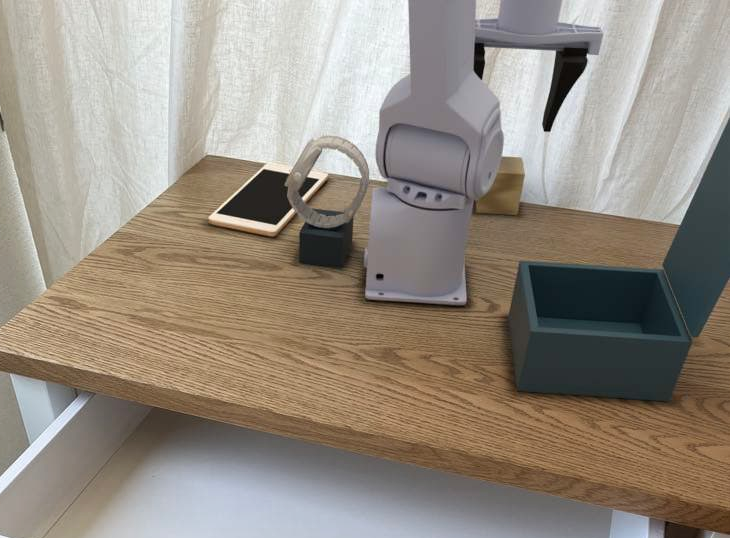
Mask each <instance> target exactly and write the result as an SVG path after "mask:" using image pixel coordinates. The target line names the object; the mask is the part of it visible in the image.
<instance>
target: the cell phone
mask: <svg viewBox="0 0 730 538" xmlns="http://www.w3.org/2000/svg"><path fill="white" fill-rule="evenodd" d="M293 167H294V166H290V165H286V164H279V163H274V162H267V163H266V164H264V165H263V166H262V167H261V168H260V169H259V170H258V171H257V172H255V174H253V175H251V177H250V178H249V179H248V180H247V181H246V182H245V183H244V184H243V185H241V187H239V188H238V189H237V190H236V191H235V192H234V193H232V195H231V196H229V197H228V198H227V199H226V200H225V201H224V202H223V203H222V204H221V205H220V206H219V207H218V208H217V209H215V210H214V211H213V212H212V213H211V214H210V215H209V216H208V217H207V219H208V224H210V225H213V226H218V227H221V228H228V229H232V230H238V231H243V232H247V233H252V234H257V235H261V236H262V235H263V236H265V237H266V236H267V237H275V236H277V235H278V234H279V233H280V232H281V230H282V229H283V228H284V227H286V225H287V224H288V223H289V222H290V221H291V219H293V217H294V216H296V215H297V213H296V212H295V211H294V209H293V208H292V205H291V204H290V202H289V199H288V197H287V194H288V186H287V187H286V186H285V182H286V180H287V178H288V176H289V174H290V173H291V171H292V169H293ZM328 180H329V173H327V172H323V171H318V170H312V169H311V171H310V173H309V174H308V176H307V178H306V179H305V181H304V183H303V184H302V186H301V188H300V189H299V190H298V192H299V195H300V196H301V198H302V199H303V201H304V203H306V204H307V202H308V201H310V199H311V198H312V197H313V196H314V195H315V193H316V192H317V191H318V190H319V189H320V188H321V187H322V186H323V185H324V184H325V183H326V181H328Z"/></svg>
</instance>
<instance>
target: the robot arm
mask: <svg viewBox="0 0 730 538" xmlns="http://www.w3.org/2000/svg"><path fill="white" fill-rule="evenodd" d="M407 2H408V4H407V5H408V8H407V9H408V36H409V37H408V39H409V42H408V43H409V71H410V72H409V74H407V75H406V76H404V77H402V78H401V79H399V80H398V81H397V82H396V83H395V84H394V85H393V86H392V87H391V88H390V90H388V92H387V94H386V96H385V97H384V99H383V102H382V104H381V106H380V109H379V111H378V112H379V113H378V115H379V116H378V132H377V137H376V143H375V163H376V166H377V168H378V171H379V175H380V176H381V177H382V178H383V179H385V180H387V184H386V186H379V187H373V188H372V190H371V191H372V193H371V202H370V215H369V228H368V229H369V230H368V245H367V246H368V247H365V248H364V256H363V269H364V268H366V277H365V278H366V279H365V292H364V297H365V298H366V299H367V300H374V301H388V302H403V303H405V302H406V303H419V304H420V303H421V304H435V305H450V306H466V304H467V301H468V299H467V298H468V297H467V283H466V266H465V265H466V264H465V260H466V254H467V249H468V242H469V234H470V228H471V221H472V215H473V208H474V203H475V201H476V200H479V199H480V198H482V196H484V195H485V194H486V193H487V192H488V191H489V190H490V188H491V186H492V184H493V182H494V180H495V178H496V175H497V172H498V169H499V165H500V162H501V157H502V156H503V151H504V143H505V137H504V131H503V129H502V118H501V113H502V111H501V109H500V107H501V100H500V99H499V97H498V96H497V95H496V94H495V92H493V91H492V90H491V88H489V87H488V85H486V83H485V82H484V81H483V77H484V72H485V67H486V58H485V56H486V49H485V48H496V49H511V50H512V49H513V50H531V51H533V50H535V51H551V52H553V51H554V52H555V55H554V64H553V69H552V75H551V82H550V87H549V92H548V95H547V100H546V103H545V108H544V111H543V116H542V123H541V126H542V129H543V132H544V133H551V132H552V128H553V126H554V124H555V121H556V118H557V115H558V114H559V112H560V109H561V107H562V105H563V103H564V102H565V100H566V98H567V97H568V95H569V93H570V92H571V90H572V88H573V87H574V85H575V84H576V83H577V82H578V80H579V79H580V77H581V76H582V75H583V74H584V72H585V70H586V68H587V66H588V62H589V59H588V57H587V56H588V55H590V56H599V55H600V51H601V46H602V42H603V39H604V31H603V29H602V27H601V26H590V25H580V24H575V23H569V22H568V23H567V22H560V21H559V18H560V14H561V8H562V3H563V0H500V2H499V7H498V8H499V9H498V16H497V18H481V19H479V18H478V19H477V18H476V15H477V14H476V13H477V0H407Z"/></svg>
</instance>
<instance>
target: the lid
mask: <svg viewBox="0 0 730 538" xmlns="http://www.w3.org/2000/svg"><path fill="white" fill-rule="evenodd" d="M661 266H662V268H663V270H664V272H665V275H666V277H667V280H668V282H669V285H670V287H671V290H672V292H673V295H674V297H675V300H676V302H677V305H678V307H679V310H680V312H681V315H682V317H683V320H684V322H685V325H686V327H687V330H688V332H689V335H690V337H691V338H695V339H696V338H697V339H698V338H699V337H700V335H701V333H702V331H703V329H704V328H705V326H706V324H707V322H708V321H709V318H710V316H711V315H712V312H713V310H715V309H714V308H715V306H716V305H717V303H718V301H719V299H720V297H721V295H722V293H723V292H724V290H725V288H726V287H727V284H728V282H729V280H730V116H729V117H728V120H727V121H726V124H725V126H724V128H723V131H722V133H721V135H720V137H719V139H718V141H717V143H716V146H715V148H714V150H713V152H712V154H711V157H710V159H709V161H708V163H707V165H706V168H705V169H704V172H703V174H702V176H701V178H700V181H699V182H698V185H697V187H696V190H695V192H694V194H693V196H692V198H691V201H690V202H689V205H688V207H687V209H686V211H685V213H684V216H683V218H682V220H681V222H680V224H679V226H678V229H677V231H676V233H675V235H674V237H673V239H672V242H671V244H670V246H669V248H668V251H667V253H666V255H665V257H664V260H663V262H662V264H661Z"/></svg>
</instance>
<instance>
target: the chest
mask: <svg viewBox="0 0 730 538" xmlns="http://www.w3.org/2000/svg"><path fill="white" fill-rule="evenodd" d="M517 266H518V267H517V272H516V277H515V281H514V287H513V291H512V297H511V301H510V306H509V310H508V316H507V321H508V329H509V337H510V345H511V353H512V362H513V369H514V378H515V385H516V392H525V393H526V392H527V393H539V394H540V393H542V394H553V395H554V394H555V395H569V396H583V397H597V398H610V399H612V398H613V399H614V398H615V399H625V400H626V399H627V400H640V401H641V400H642V401H657V402H670V399H671V397H672V395H673V392H674V390H675V387H676V385H677V382H678V379H679V377H680V375H681V372H682V370H683V368H684V364H685V362H686V359H687V357H688V354H689V352H690V349H691V347H692V345H693V340H692V339H693V338H692V337H691V336H690V333H689V331H688V328H687V326H686V323H685V321H684V318H683V316H682V313H681V311H680V308H679V306H678V303H677V301H676V298H675V296H674V293H673V291H672V288H671V286H670V283H669V281H668V278H667V276H666V273H665V271H664V268H663V269H662V268H648V267H647V268H645V267H631V266H630V267H629V266H616V265H615V266H614V265H599V264H597V265H596V264H585V263H584V264H581V263H567V262H566V263H565V262H550V261H549V262H548V261H536V260H535V261H533V260H519V262H518V265H517Z"/></svg>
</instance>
